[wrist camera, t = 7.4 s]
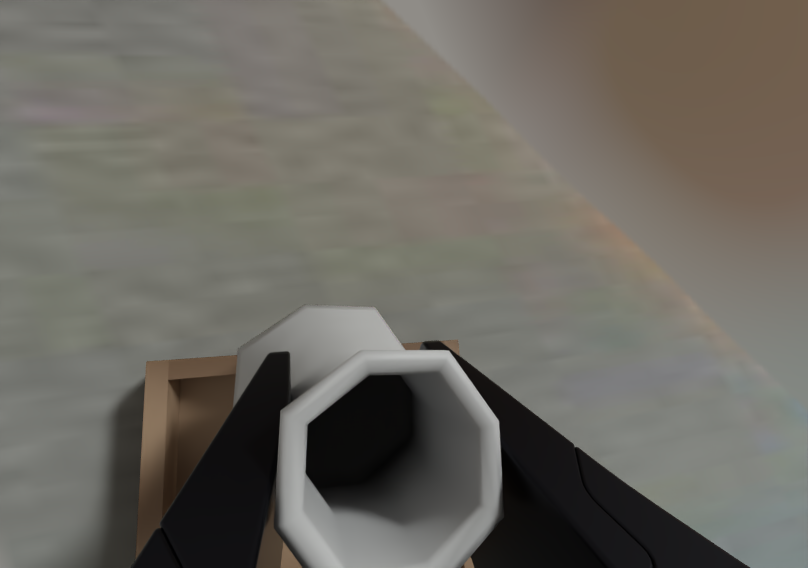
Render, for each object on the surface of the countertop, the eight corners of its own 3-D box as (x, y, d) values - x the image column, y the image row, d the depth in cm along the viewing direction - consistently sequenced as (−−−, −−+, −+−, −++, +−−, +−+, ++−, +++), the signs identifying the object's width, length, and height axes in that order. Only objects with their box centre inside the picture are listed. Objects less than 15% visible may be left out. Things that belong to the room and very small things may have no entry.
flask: (439, 445, 15) (685, 601, 5) (259, 530, 12) (147, 1068, 3) (386, 282, 16) (525, 171, 6) (206, 332, 13) (-17, 277, 4)
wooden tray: (459, 568, 19) (483, 598, 17) (153, 656, 15) (126, 713, 12) (439, 341, 21) (458, 339, 19) (166, 360, 17) (146, 361, 14)
